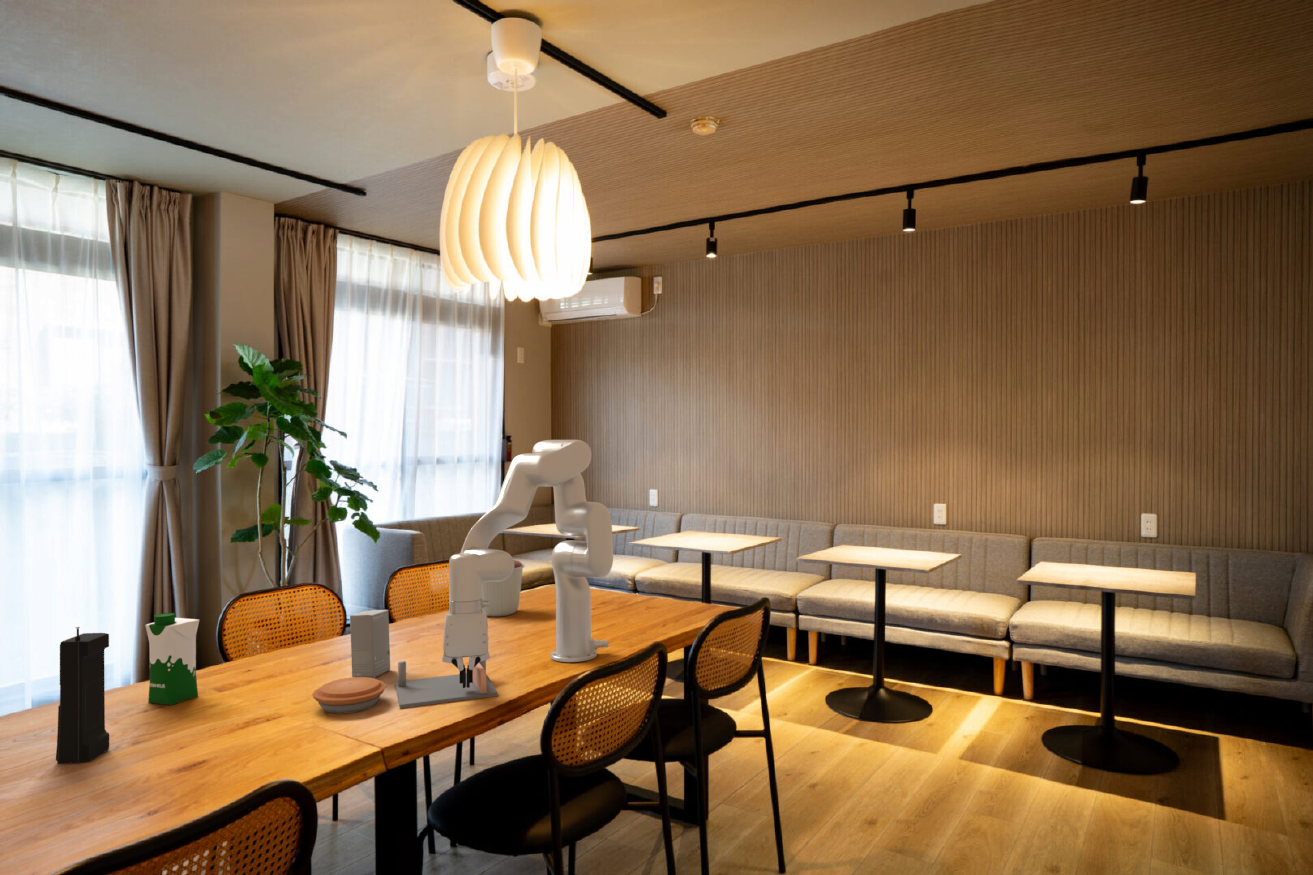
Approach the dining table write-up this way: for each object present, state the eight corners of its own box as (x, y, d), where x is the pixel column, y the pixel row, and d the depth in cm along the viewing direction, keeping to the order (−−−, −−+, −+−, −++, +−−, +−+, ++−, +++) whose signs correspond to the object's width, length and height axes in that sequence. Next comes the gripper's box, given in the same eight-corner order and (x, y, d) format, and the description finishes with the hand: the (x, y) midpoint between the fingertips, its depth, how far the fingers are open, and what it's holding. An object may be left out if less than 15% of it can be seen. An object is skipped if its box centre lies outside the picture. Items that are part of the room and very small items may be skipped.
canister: (463, 618, 262) (462, 555, 262) (483, 607, 280) (483, 548, 280) (514, 620, 259) (513, 556, 259) (532, 608, 277) (531, 549, 277)
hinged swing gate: (484, 674, 198) (484, 648, 198) (497, 695, 181) (497, 667, 181) (395, 684, 190) (394, 658, 190) (399, 708, 173) (399, 678, 173)
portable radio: (80, 748, 152) (80, 619, 152) (113, 746, 152) (112, 618, 153) (53, 764, 144) (52, 628, 144) (87, 763, 144) (86, 627, 145)
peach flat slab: (468, 675, 193) (468, 654, 193) (474, 674, 193) (474, 653, 194) (480, 693, 179) (480, 670, 179) (486, 692, 179) (486, 670, 179)
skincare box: (374, 679, 195) (373, 615, 195) (348, 677, 196) (347, 614, 197) (392, 669, 203) (391, 608, 203) (367, 668, 205) (366, 607, 205)
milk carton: (141, 703, 178) (140, 615, 179) (177, 691, 187) (176, 607, 187) (170, 707, 176) (169, 618, 176) (205, 694, 184) (204, 609, 184)
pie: (315, 721, 165) (315, 698, 165) (310, 701, 179) (309, 679, 179) (391, 709, 172) (391, 687, 172) (380, 690, 186) (380, 669, 186)
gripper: (498, 602, 187) (498, 679, 187) (433, 605, 184) (433, 683, 183) (499, 608, 180) (499, 688, 180) (431, 611, 176) (432, 693, 176)
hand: (466, 685), depth 181 cm, fingers closed
